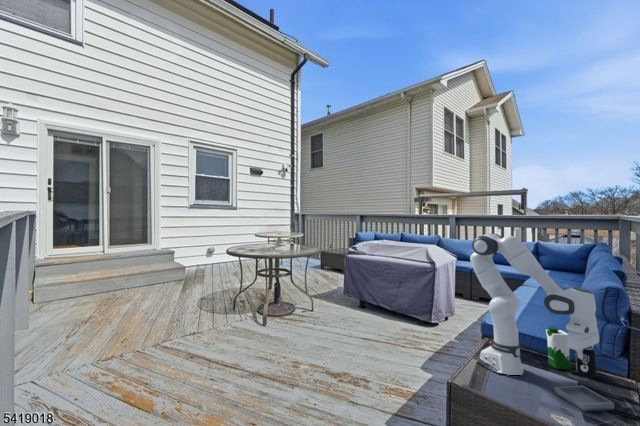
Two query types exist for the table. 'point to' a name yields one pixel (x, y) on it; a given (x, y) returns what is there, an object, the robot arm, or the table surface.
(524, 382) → the table surface
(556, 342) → the milk carton
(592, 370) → the beverage can
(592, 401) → the tray
